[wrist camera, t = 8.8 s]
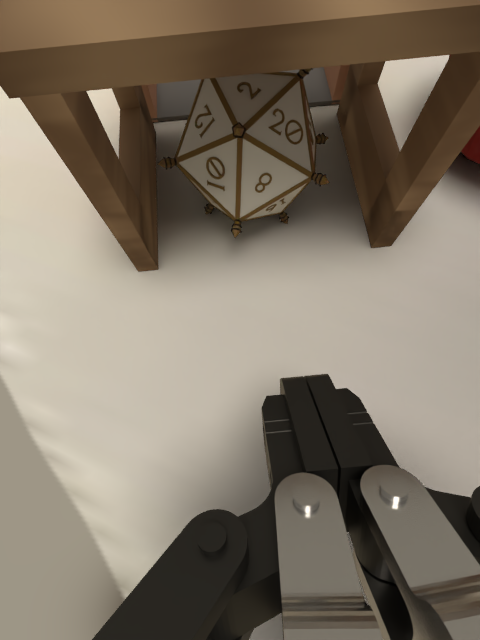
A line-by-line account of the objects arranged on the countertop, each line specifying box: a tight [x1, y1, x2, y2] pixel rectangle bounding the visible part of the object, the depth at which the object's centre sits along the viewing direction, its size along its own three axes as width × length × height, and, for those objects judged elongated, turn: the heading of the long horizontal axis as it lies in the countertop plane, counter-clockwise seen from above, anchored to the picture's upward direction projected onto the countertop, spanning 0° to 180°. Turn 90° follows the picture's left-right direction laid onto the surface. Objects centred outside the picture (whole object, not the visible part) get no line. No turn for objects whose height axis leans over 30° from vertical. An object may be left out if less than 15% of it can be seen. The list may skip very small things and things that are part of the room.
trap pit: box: [141, 65, 350, 122], centre depth 24 cm, size 15×6×3 cm, turn 96°
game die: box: [158, 68, 329, 237], centre depth 18 cm, size 9×8×10 cm
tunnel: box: [0, 0, 480, 271], centre depth 16 cm, size 16×11×12 cm
